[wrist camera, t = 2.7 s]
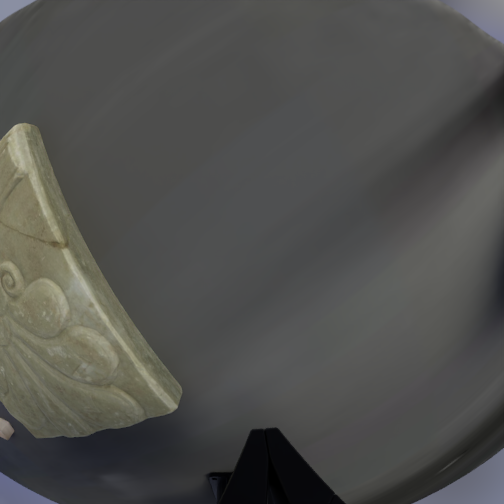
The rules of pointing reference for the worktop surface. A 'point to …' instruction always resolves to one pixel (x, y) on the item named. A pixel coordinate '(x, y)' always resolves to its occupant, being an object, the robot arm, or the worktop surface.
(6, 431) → the frame
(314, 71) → the worktop surface
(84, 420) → the decorative tile
